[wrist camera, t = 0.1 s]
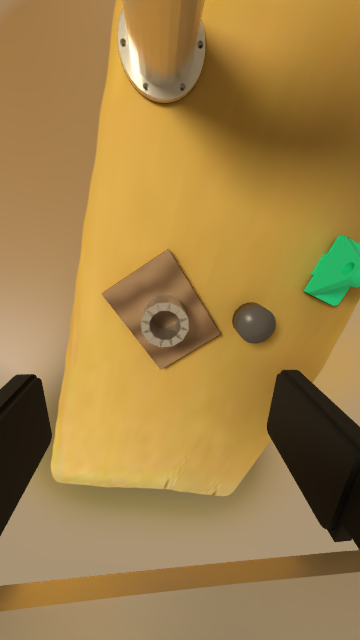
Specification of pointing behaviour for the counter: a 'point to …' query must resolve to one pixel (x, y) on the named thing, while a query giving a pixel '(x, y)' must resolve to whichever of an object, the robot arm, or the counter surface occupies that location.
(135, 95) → the counter surface
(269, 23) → the counter surface
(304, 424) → the robot arm
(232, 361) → the counter surface
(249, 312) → the grey sphere
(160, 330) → the pipe flange plate
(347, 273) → the camera mount
